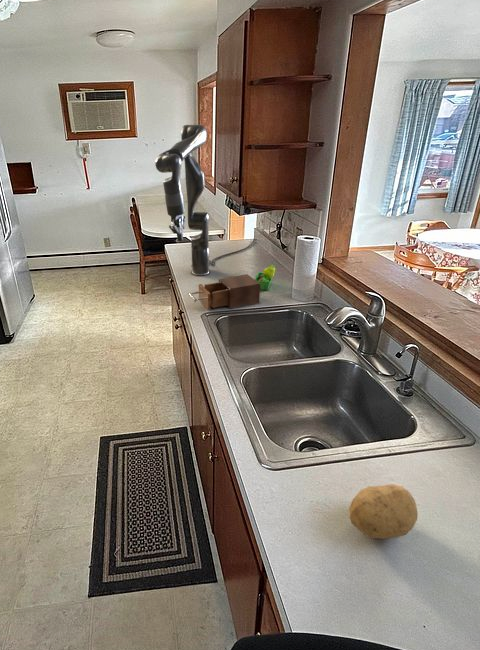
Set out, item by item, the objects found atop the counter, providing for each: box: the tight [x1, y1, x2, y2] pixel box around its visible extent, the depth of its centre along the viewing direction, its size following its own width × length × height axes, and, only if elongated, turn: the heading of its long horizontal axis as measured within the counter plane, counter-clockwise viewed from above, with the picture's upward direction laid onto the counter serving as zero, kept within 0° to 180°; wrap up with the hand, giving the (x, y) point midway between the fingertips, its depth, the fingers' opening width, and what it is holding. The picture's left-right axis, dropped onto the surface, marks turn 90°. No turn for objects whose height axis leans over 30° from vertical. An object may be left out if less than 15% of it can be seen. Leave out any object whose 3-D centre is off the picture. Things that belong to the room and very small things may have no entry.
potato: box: [348, 483, 419, 539], centre depth 78 cm, size 10×14×8 cm
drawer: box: [187, 281, 229, 311], centre depth 174 cm, size 19×11×8 cm, turn 108°
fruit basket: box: [254, 264, 276, 291], centre depth 190 cm, size 11×9×11 cm
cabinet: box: [218, 273, 261, 309], centre depth 178 cm, size 15×13×10 cm
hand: (180, 240), depth 175 cm, fingers closed
